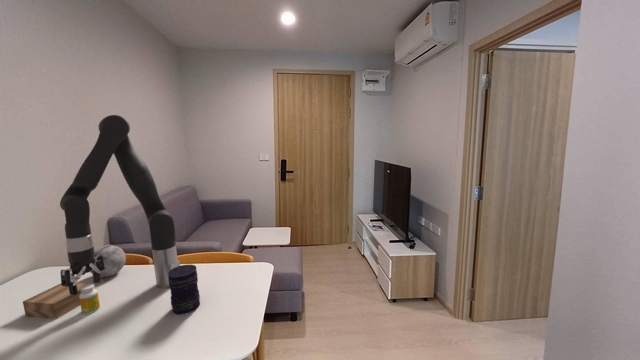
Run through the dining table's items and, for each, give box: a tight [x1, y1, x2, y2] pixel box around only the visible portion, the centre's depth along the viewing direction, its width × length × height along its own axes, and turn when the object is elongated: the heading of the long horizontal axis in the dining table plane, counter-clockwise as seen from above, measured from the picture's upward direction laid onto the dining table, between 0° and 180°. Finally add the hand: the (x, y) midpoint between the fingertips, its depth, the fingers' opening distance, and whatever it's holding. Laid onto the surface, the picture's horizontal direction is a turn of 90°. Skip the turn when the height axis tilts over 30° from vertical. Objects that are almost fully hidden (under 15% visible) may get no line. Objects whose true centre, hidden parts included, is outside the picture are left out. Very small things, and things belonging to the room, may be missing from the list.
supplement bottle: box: [79, 283, 101, 315], centre depth 105 cm, size 5×5×10 cm
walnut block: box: [22, 282, 90, 320], centre depth 109 cm, size 14×14×6 cm
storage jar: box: [168, 264, 201, 316], centre depth 105 cm, size 10×10×15 cm
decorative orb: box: [89, 244, 127, 278], centre depth 134 cm, size 15×14×15 cm
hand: (86, 288), depth 105 cm, fingers open, 8 cm apart
